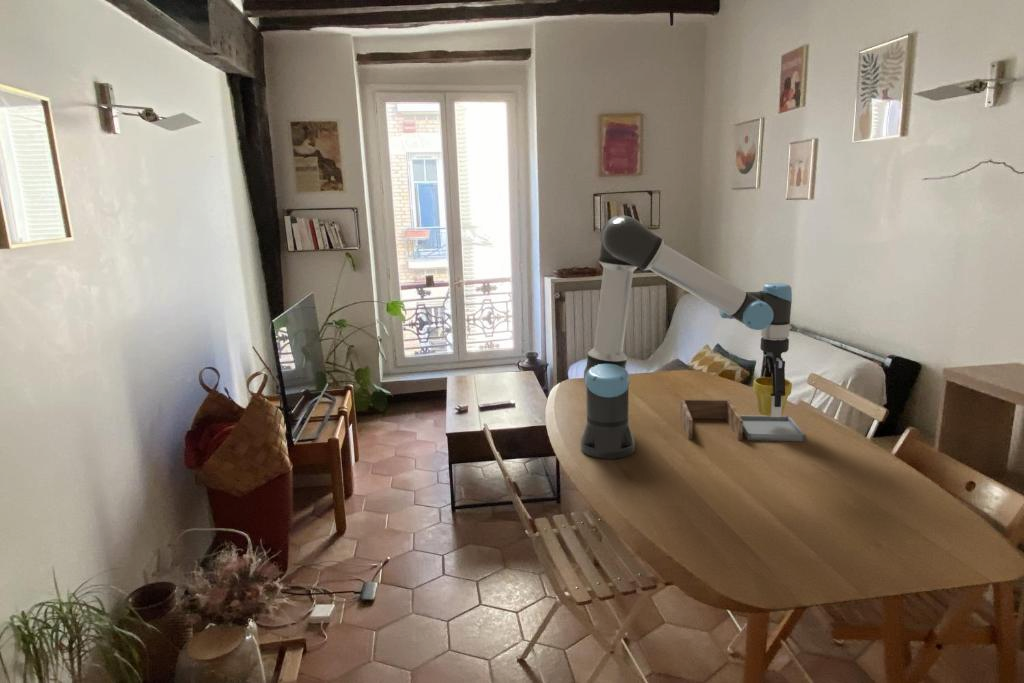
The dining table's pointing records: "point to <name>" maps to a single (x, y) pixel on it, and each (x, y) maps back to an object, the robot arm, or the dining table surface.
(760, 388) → the plant pot
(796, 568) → the dining table surface
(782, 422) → the tray
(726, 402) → the box
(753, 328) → the robot arm
